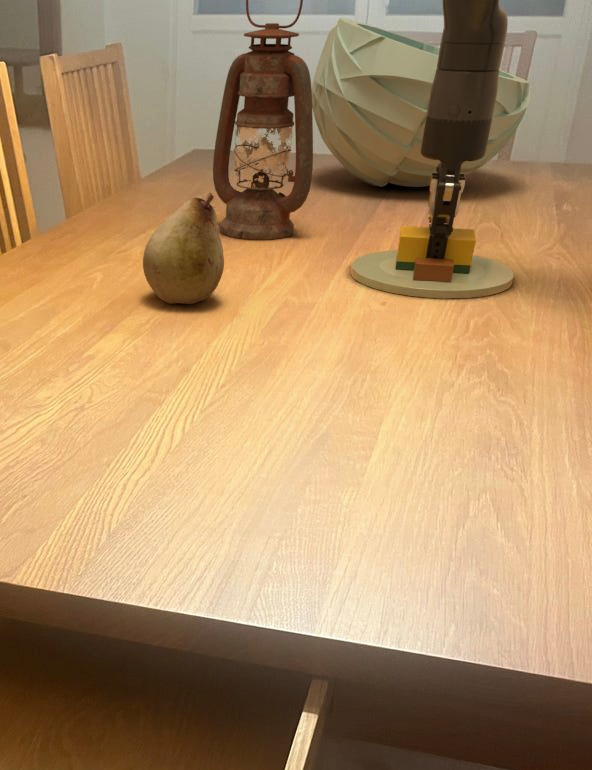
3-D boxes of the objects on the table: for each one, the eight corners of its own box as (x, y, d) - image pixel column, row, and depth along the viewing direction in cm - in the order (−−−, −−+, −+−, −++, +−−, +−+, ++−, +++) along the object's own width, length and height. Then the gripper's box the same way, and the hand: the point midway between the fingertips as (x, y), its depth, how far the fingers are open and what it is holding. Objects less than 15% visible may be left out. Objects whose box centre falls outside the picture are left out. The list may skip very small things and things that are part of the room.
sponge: (467, 261, 125) (473, 229, 123) (469, 274, 120) (475, 240, 118) (396, 257, 127) (401, 225, 125) (395, 269, 122) (400, 236, 120)
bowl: (455, 195, 189) (512, 72, 176) (485, 239, 161) (555, 96, 147) (287, 140, 187) (331, 11, 174) (287, 174, 159) (340, 23, 146)
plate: (506, 261, 129) (507, 253, 128) (518, 303, 113) (520, 294, 113) (354, 253, 133) (355, 245, 133) (346, 292, 117) (347, 284, 117)
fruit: (231, 310, 112) (238, 199, 105) (152, 315, 110) (155, 203, 103) (206, 286, 120) (212, 181, 113) (133, 291, 118) (134, 185, 112)
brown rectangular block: (450, 276, 120) (453, 259, 118) (450, 282, 117) (454, 265, 116) (413, 273, 120) (415, 257, 119) (412, 280, 118) (415, 263, 117)
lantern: (285, 246, 137) (313, -58, 116) (191, 230, 145) (202, -56, 125) (322, 232, 144) (355, -57, 123) (230, 217, 152) (247, -55, 132)
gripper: (496, 122, 107) (465, 278, 117) (489, 106, 118) (461, 249, 128) (427, 120, 109) (401, 274, 118) (426, 104, 120) (403, 246, 130)
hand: (433, 260), depth 123 cm, fingers closed on sponge, 6 cm apart
